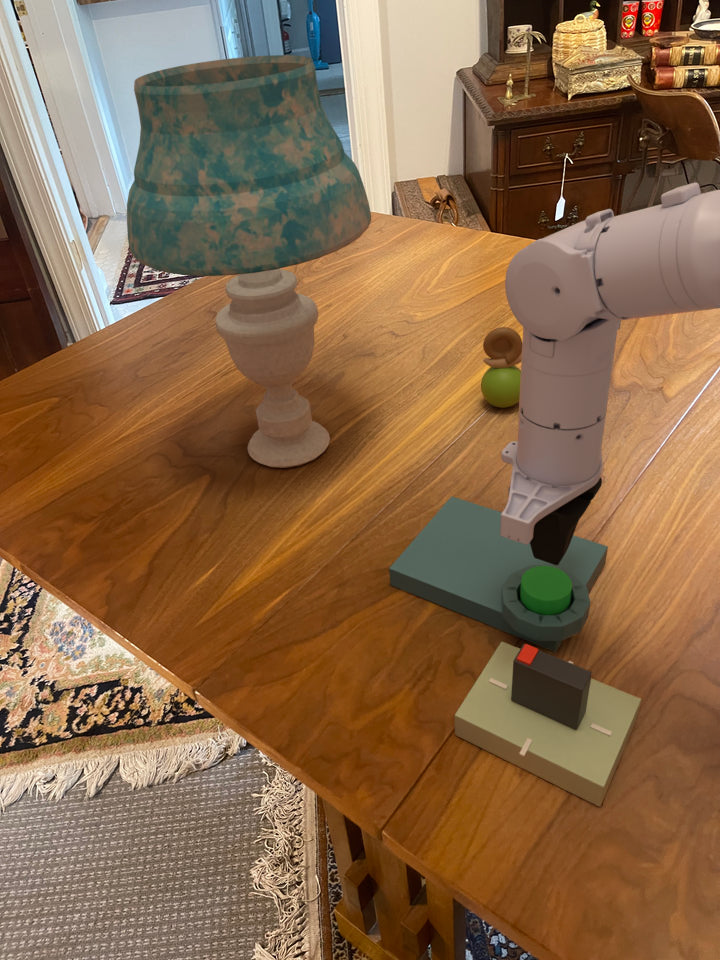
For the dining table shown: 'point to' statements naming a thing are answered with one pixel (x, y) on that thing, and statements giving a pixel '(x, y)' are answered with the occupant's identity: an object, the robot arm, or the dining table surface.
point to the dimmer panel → (548, 730)
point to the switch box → (493, 573)
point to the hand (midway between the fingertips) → (548, 556)
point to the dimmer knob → (550, 686)
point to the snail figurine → (502, 367)
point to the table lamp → (248, 216)
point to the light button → (545, 590)
